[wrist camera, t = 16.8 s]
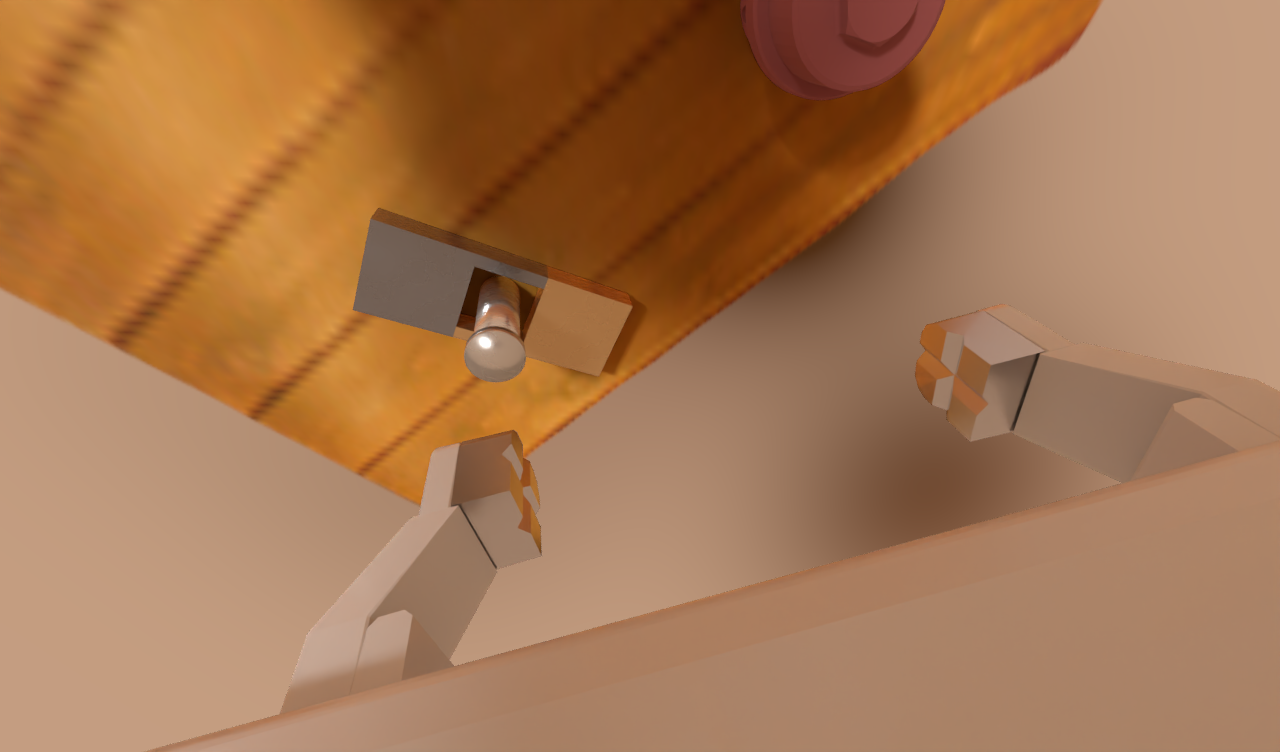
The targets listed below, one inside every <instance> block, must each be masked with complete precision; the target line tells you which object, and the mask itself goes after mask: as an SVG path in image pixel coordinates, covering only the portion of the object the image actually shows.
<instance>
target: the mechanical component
mask: <svg viewBox="0 0 1280 752" xmlns="http://www.w3.org/2000/svg"><path fill="white" fill-rule="evenodd" d="M944 3H945V0H741V2H740V10H741V20H742V25H743V29H744V31H745V34H746V37H747V38H748V40H749V43H750V46H751V49H752V52H753V55H754V57H755V59H756V61H757V63H758V65H759V67H760V68H761V70H762V71H763V72H764V74H765V75H766V76H767V77H768V78H769V79H770V80H771V81H772V82H773V83H774V84H775V85H776V86H778V87H779V88H781V89H782V90H784V91H786V92H788V93H791V94H793V95H796V96H799V97H802V98H806V99H811V100H831V99H835V98H840V97H843V96H845V95H848V94H851V93H853V92H855V91H861V90H867V89H870V88H872V87H875V86H878V85H880V84H882V83H884V82H886V81H887V80H889V79H891V78H892V77H893V76H895V75H896V74H898V73H899V72H900V71H901V70H903V69H904V68H905V67H906V66H907V65H908V64H909V63H910V62H911V61H912V60H913V59H914V57H915V56H916V55H917V54H918V53H919V52H920V50H921V49H922V47H923V46H924V45H925V43H926V42H927V40H928V39H929V37H930V35H931V33H932V32H933V30H934V28H935V26H936V24H937V22H938V19H939V17H940V15H941V12H942V10H943V7H944Z"/></svg>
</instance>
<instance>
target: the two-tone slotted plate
mask: <svg viewBox="0 0 1280 752" xmlns="http://www.w3.org/2000/svg"><path fill="white" fill-rule="evenodd" d="M474 267H477V268H480V269H483V270H486V271H489V272H493V273H496V274H499V275H502V276H505V277H508V278H511V279H514V280H517V281H520V282H523V283H526V284H529V285H533V286H536V287H539V289H538V291H537V294H536V296H535V299H534V302H533V304H532V307H531V310H530V312H529V315H528V318H527V320H526V323H525V326H524V328H523V331H521V330H520V338H521V339H522V341H523V343H524V345H525V350H526V357H529V358H532V359H536V360H540V361H543V362H547V363H551V364H554V365H558V366H562V367H565V368H569V369H573V370H577V371H580V372H584V373H588V374H591V375H595V376H599V375H600V373H601V371H602V369H603V367H604V365H605V363H606V361H607V359H608V357H609V355H610V353H611V350H612V348H613V346H614V344H615V342H616V340H617V338H618V336H619V334H620V332H621V330H622V328H623V326H624V323H625V321H626V319H627V317H628V315H629V313H630V311H631V309H632V307H633V306H632V303H631V300H630V298H629V295H628V293H625V292H622V291H619V290H616V289H613V288H610V287H607V286H604V285H602V284H599V283H596V282H593V281H590V280H587V279H584V278H581V277H578V276H575V275H572V274H569V273H567V272H564V271H561V270H558V269H555V268H552V267H549V266H546V265H543V264H540V263H537V262H535V261H532V260H529V259H526V258H523V257H520V256H517V255H514V254H511V253H508V252H505V251H502V250H500V249H497V248H494V247H491V246H488V245H485V244H482V243H479V242H476V241H473V240H470V239H467V238H465V237H462V236H459V235H456V234H453V233H450V232H447V231H444V230H441V229H438V228H435V227H433V226H430V225H427V224H424V223H421V222H418V221H415V220H412V219H409V218H406V217H403V216H400V215H398V214H395V213H392V212H389V211H386V210H383V209H380V208H378V209H377V211H376V212H375V213H374V215H373V216H372V218H371V220H370V225H369V230H368V235H367V240H366V245H365V251H364V256H363V261H362V266H361V271H360V276H359V281H358V286H357V292H356V297H355V302H354V307H353V310H355V311H359V312H362V313H366V314H370V315H374V316H377V317H381V318H385V319H388V320H392V321H396V322H399V323H403V324H407V325H410V326H414V327H418V328H422V329H425V330H429V331H433V332H436V333H440V334H444V335H447V336H451V337H455V338H458V339H462V340H466V341H468V339H469V338H470V336H471V335H472V334H473V333H474V328H475V322H476V317H473V316H469V315H466V314H463V313H460V312H461V309H462V306H463V302H464V299H465V296H466V293H467V289H468V286H469V283H470V280H471V276H472V273H473V270H474Z"/></svg>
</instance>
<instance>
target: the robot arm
mask: <svg viewBox="0 0 1280 752" xmlns="http://www.w3.org/2000/svg"><path fill="white" fill-rule="evenodd" d="M920 344H921V345H922V346H923V347H924V349H925V352H924V353H923V354H922V355H921V357H920V358H919V359H918V360H917V363H916V372H915V377H916V381H917V385H918V388H919V390H920V392H921V393H922V395H923V397H924V398H925V399H926V400H927V401H928V402H929V403H930V404H931V405H933V406H935V407H938V408H941V409H944V410H947V420H948V422H950V423H951V424H952V425H953V426H954V427H955V428H956V429H957V430H958V431H959V432H960V433H961V434H962V435H963V436H964V437H965V438H966V439H967V440H968V441H969V442H972V441H976V440H980V439H984V438H989V437H993V436H996V435H1001V434H1005V433H1009V432H1013V434H1014V435H1016V436H1019V437H1021V438H1023V439H1025V440H1028V441H1030V442H1032V443H1035V444H1037V445H1039V446H1042V447H1043V448H1046V449H1048V450H1050V451H1052V452H1054V453H1057V454H1059V455H1061V456H1064V457H1066V458H1068V459H1070V460H1072V461H1075V462H1077V463H1079V464H1081V465H1084V466H1086V467H1088V468H1090V469H1092V470H1095V471H1097V472H1099V473H1102V474H1104V475H1106V476H1108V477H1110V478H1113V479H1115V480H1117V481H1119V482H1121V484H1117V485H1114V486H1110V487H1106V488H1103V489H1099V490H1095V491H1092V492H1089V493H1084V494H1081V495H1077V496H1074V497H1070V498H1066V499H1063V500H1059V501H1056V502H1052V503H1048V504H1044V505H1041V506H1037V507H1034V508H1030V509H1026V510H1023V511H1019V512H1016V513H1012V514H1008V515H1004V516H1001V517H997V518H994V519H990V520H986V521H983V522H979V523H975V524H972V525H968V526H965V527H961V528H957V529H954V530H950V531H946V532H943V533H939V534H935V535H932V536H929V537H924V538H921V539H917V540H914V541H910V542H906V543H903V544H899V545H895V546H892V547H888V548H884V549H881V550H877V551H873V552H870V553H866V554H862V555H859V556H855V557H851V558H848V559H845V560H840V561H837V562H833V563H829V564H826V565H822V566H818V567H815V568H811V569H808V570H804V571H800V572H797V573H793V574H789V575H786V576H782V577H778V578H775V579H771V580H768V581H764V582H760V583H757V584H753V585H749V586H745V587H742V588H738V589H735V590H731V591H727V592H724V593H720V594H716V595H713V596H709V597H705V598H702V599H698V600H694V601H691V602H687V603H683V604H680V605H676V606H673V607H669V608H666V609H661V610H658V611H654V612H651V613H647V614H643V615H640V616H636V617H633V618H629V619H626V620H622V621H618V622H614V623H610V624H607V625H603V626H600V627H596V628H592V629H589V630H585V631H582V632H578V633H574V634H570V635H567V636H563V637H559V638H556V639H553V640H549V641H545V642H541V643H538V644H534V645H531V646H527V647H523V648H519V649H516V650H512V651H508V652H505V653H501V654H497V655H494V656H490V657H486V658H483V659H479V660H475V661H472V662H468V663H465V664H461V665H457V666H454V665H453V664H452V663H451V661H450V658H451V656H452V654H453V652H454V651H455V649H456V647H457V645H458V643H459V641H460V640H461V638H462V636H463V633H464V632H465V630H466V629H467V627H468V625H469V623H470V621H471V619H472V618H473V616H474V614H475V612H476V610H477V608H478V607H479V604H480V602H481V601H482V599H483V597H484V595H485V594H486V592H487V590H488V588H489V586H490V584H491V583H492V581H493V579H494V577H495V575H496V573H497V571H496V570H497V569H500V568H503V567H507V566H510V565H513V564H516V563H520V562H523V561H527V560H530V559H534V558H537V557H540V556H542V550H541V526H540V524H539V522H538V519H537V517H536V513H537V512H538V510H539V509H540V497H539V491H538V485H537V480H536V477H535V474H534V470H533V468H532V466H531V464H530V461H528V460H526V459H524V458H523V444H522V442H521V440H520V438H519V436H518V434H517V432H516V431H514V430H511V431H507V432H502V433H498V434H494V435H489V436H485V437H481V438H476V439H472V440H468V441H464V442H462V443H456V444H452V445H448V446H444V447H440V448H436V449H435V450H434V451H433V453H432V454H431V458H430V463H429V468H428V473H427V478H426V483H425V488H424V492H423V497H422V502H421V507H420V512H419V516H415V517H411V518H410V519H409V520H408V521H407V522H406V524H405V525H404V526H403V527H402V528H401V529H400V530H399V531H398V532H397V534H396V535H395V536H394V537H393V538H392V539H391V541H389V543H388V544H387V545H386V546H385V547H384V548H383V549H382V550H381V552H380V553H379V554H378V555H377V556H376V557H375V558H374V560H373V561H372V562H371V563H370V564H369V565H368V566H367V567H366V568H365V570H364V571H363V572H362V573H361V574H360V575H359V576H358V577H357V579H356V580H355V581H354V582H353V583H352V584H351V585H350V586H349V587H348V589H347V590H346V591H345V592H344V593H343V594H342V595H341V596H340V598H339V599H338V600H337V601H336V602H335V603H334V604H333V606H332V607H331V608H330V609H329V610H328V611H327V612H326V613H325V614H324V616H323V617H322V618H321V619H320V620H319V621H318V622H317V623H316V624H315V626H314V627H313V628H312V629H311V630H310V631H309V632H308V634H307V637H306V640H305V642H304V645H303V648H302V651H301V654H300V657H299V660H298V663H297V666H296V669H295V672H294V674H293V677H292V680H291V683H290V686H289V689H288V692H287V695H286V697H285V700H284V703H283V706H282V709H281V712H280V714H279V715H275V716H272V717H268V718H264V719H261V720H257V721H253V722H250V723H246V724H242V725H239V726H235V727H232V728H228V729H224V730H221V731H217V732H214V733H210V734H206V735H202V736H199V737H195V738H192V739H188V740H184V741H181V742H177V743H173V744H170V745H166V746H162V747H159V748H155V749H152V750H148V751H144V752H1280V391H1278V390H1276V389H1274V388H1272V387H1270V386H1268V385H1266V384H1264V383H1262V382H1260V381H1258V380H1255V379H1251V378H1246V377H1242V376H1237V375H1232V374H1228V373H1223V372H1218V371H1214V370H1209V369H1204V368H1199V367H1195V366H1190V365H1185V364H1181V363H1176V362H1171V361H1167V360H1162V359H1157V358H1153V357H1148V356H1143V355H1139V354H1134V353H1129V352H1125V351H1120V350H1115V349H1111V348H1106V347H1101V346H1097V345H1092V344H1087V343H1079V344H1073V343H1072V342H1070V341H1068V340H1067V339H1065V338H1063V337H1062V336H1060V335H1058V334H1057V333H1055V332H1054V331H1052V330H1050V329H1048V328H1047V327H1045V326H1044V325H1042V324H1040V323H1039V322H1037V321H1035V320H1034V319H1032V318H1030V317H1029V316H1027V315H1026V314H1024V313H1022V312H1021V311H1019V310H1017V309H1016V308H1014V307H1012V306H1010V305H1005V304H999V305H996V306H992V307H989V308H985V309H982V310H978V311H976V312H974V313H969V314H966V315H962V316H958V317H954V318H950V319H946V320H943V321H939V322H935V323H931V324H927V325H926V326H925V328H924V330H923V331H922V335H921V340H920Z"/></svg>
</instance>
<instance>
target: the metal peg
mask: <svg viewBox="0 0 1280 752" xmlns="http://www.w3.org/2000/svg"><path fill="white" fill-rule="evenodd" d="M464 359H465V363H466V366H467V367H468V369H469V370H470V372H471V373H473V374H474V375H475V376H476V377H478V378H480V379H482V380H485V381H489V382H503V381H507V380H510V379H512V378H514V377H515V376H517V375H518V374H519V373H520V372H521V371H522V369H523V367H524V365H525V361H526V350H525V345H524V343H523V341H522V339H521V338H520V291H519V288H518V286H517V284H516V283H515V282H514V281H513V280H511V279H509V278H507V277H504V276H493V277H490V278H488V279H487V280H486V281H484V283H483V284H482V286H481V288H480V294H479V301H478V308H477V315H476V322H475V328H474V333H473V334H472V335H471V336H470V338H469V339H468V341H467V343H466V347H465V353H464Z"/></svg>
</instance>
